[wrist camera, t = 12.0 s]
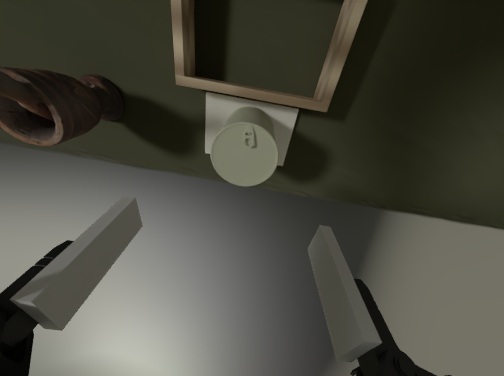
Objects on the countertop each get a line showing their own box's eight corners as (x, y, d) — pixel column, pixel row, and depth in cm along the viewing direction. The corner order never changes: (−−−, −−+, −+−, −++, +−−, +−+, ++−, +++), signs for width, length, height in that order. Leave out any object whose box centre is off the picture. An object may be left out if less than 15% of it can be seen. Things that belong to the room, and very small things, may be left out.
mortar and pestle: (67, 37, 27) (-243, -20, 10) (127, 59, 28) (-67, 40, 12) (82, 113, 33) (-99, 155, 17) (130, 129, 34) (7, 182, 18)
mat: (207, 91, 30) (206, 92, 30) (298, 108, 31) (298, 109, 31) (205, 151, 36) (205, 153, 36) (282, 164, 37) (282, 166, 37)
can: (279, 111, 31) (288, 130, 21) (267, 159, 36) (270, 193, 26) (227, 101, 30) (210, 115, 20) (222, 151, 35) (207, 182, 25)
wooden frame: (183, -64, 21) (164, -98, 17) (361, -24, 23) (384, -45, 18) (188, 82, 30) (176, 84, 26) (317, 106, 31) (326, 112, 27)
